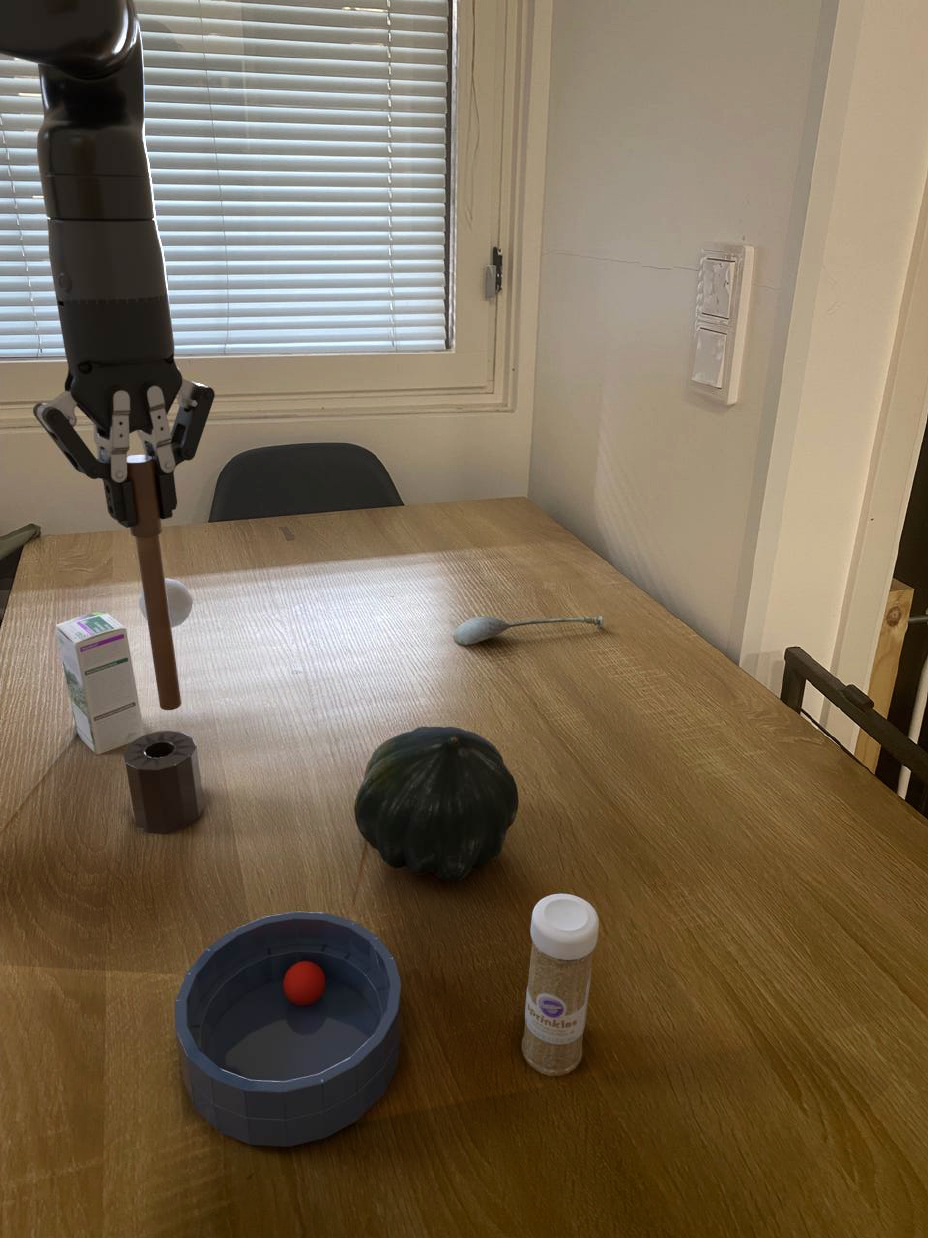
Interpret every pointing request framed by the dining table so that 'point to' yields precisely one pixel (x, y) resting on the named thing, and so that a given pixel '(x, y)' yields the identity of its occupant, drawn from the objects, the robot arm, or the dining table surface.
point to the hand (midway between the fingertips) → (144, 519)
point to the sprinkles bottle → (558, 982)
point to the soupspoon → (502, 627)
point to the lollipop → (174, 602)
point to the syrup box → (100, 681)
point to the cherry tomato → (304, 983)
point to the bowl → (289, 1029)
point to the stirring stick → (153, 577)
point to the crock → (163, 781)
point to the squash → (437, 802)
